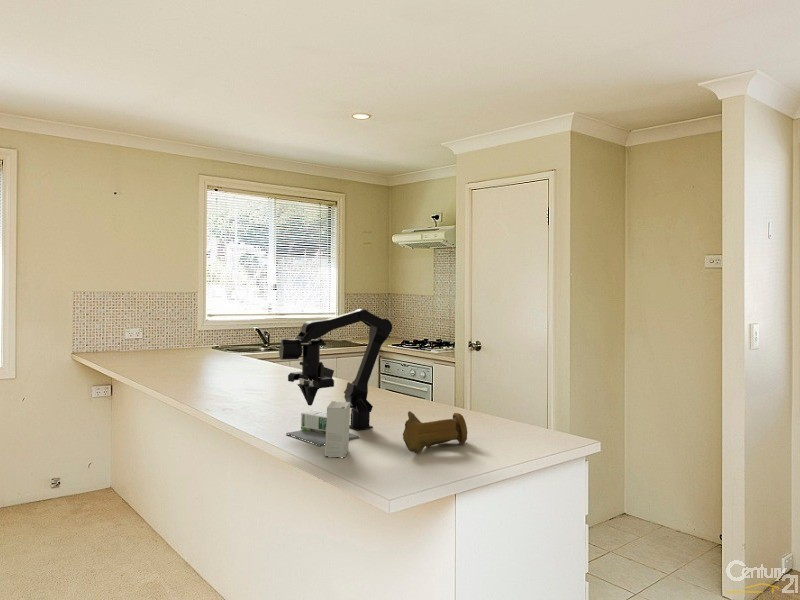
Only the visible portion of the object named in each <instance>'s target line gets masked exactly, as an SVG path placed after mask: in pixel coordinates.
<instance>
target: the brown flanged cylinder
mask: <svg viewBox="0 0 800 600" xmlns="http://www.w3.org/2000/svg"><path fill="white" fill-rule="evenodd" d="M407 417H408V419H407V420H406V421H405V422H404V430H403V432H402V439H403V441H404V444H405V446H406V447H407V450H408V451H409V452H410V453H411V452H412V453H414V454H421V452H422V451H423V450H424V448H425V447H426V448H429V447H433V446H435V445H441V444H445V443H449V442H450V441H457V442H458V443H459V444H460V445H463V444H465V443H466V442H467V440H468V427H467V423H466V419H465V418H464V416H463V415H462V414H461V413H459V412H453V414H452V418H447V419H446V418H445V419H440V420H439V419H438V420H435V421H434V420H433V421H426V422H421V421H420V420H419V418H418V417H417V416H416V415H415V414H414V413H413V412H412V411H408V412H407Z"/></svg>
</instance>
